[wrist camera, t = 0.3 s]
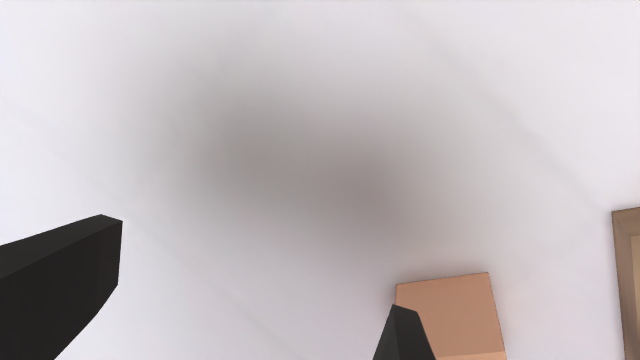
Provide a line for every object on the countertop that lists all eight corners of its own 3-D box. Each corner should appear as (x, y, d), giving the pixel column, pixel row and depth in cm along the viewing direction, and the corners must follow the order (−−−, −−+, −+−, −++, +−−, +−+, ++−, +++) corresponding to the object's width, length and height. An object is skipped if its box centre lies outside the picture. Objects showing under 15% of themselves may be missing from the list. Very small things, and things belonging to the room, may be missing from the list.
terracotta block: (502, 345, 23) (521, 437, 19) (415, 353, 24) (413, 442, 20) (487, 271, 22) (505, 351, 17) (396, 283, 23) (390, 362, 18)
